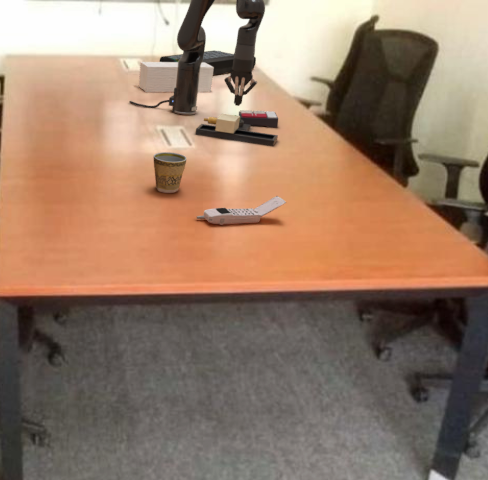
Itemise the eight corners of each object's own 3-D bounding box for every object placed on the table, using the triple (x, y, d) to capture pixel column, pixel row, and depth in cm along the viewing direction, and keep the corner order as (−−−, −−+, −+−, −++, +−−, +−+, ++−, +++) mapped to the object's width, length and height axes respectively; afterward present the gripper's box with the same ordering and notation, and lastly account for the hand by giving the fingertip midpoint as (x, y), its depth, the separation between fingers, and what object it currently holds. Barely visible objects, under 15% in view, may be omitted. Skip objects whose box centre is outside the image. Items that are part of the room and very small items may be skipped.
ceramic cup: (173, 197, 230) (176, 164, 224) (144, 189, 234) (147, 157, 228) (193, 186, 239) (197, 154, 233) (165, 179, 243) (168, 148, 238)
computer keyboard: (214, 60, 424) (216, 47, 420) (254, 69, 408) (256, 56, 404) (159, 67, 396) (160, 53, 393) (199, 78, 380) (200, 63, 377)
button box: (215, 129, 300) (216, 120, 298) (221, 123, 307) (222, 115, 305) (245, 133, 297) (247, 125, 295) (250, 128, 304) (251, 120, 302)
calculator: (238, 109, 314) (275, 110, 313) (238, 120, 316) (274, 120, 316) (241, 115, 305) (278, 116, 304) (240, 126, 307) (277, 127, 307)
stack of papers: (202, 86, 364) (205, 62, 358) (210, 91, 355) (213, 67, 349) (138, 86, 355) (140, 61, 349) (145, 92, 347) (147, 66, 341)
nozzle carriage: (199, 132, 289) (201, 116, 286) (205, 126, 297) (207, 111, 294) (232, 137, 286) (234, 121, 283) (237, 131, 294) (240, 116, 290)
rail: (195, 134, 291) (196, 128, 290) (200, 129, 298) (201, 123, 296) (273, 146, 284) (274, 140, 282) (276, 141, 290) (277, 135, 289)
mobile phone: (288, 202, 214) (205, 205, 208) (284, 222, 218) (203, 226, 211) (278, 195, 219) (197, 198, 212) (275, 215, 222) (195, 218, 216)
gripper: (263, 57, 288) (256, 105, 297) (229, 53, 291) (223, 101, 301) (259, 60, 282) (252, 109, 291) (224, 56, 285) (218, 104, 295)
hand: (237, 105), depth 296 cm, fingers closed
